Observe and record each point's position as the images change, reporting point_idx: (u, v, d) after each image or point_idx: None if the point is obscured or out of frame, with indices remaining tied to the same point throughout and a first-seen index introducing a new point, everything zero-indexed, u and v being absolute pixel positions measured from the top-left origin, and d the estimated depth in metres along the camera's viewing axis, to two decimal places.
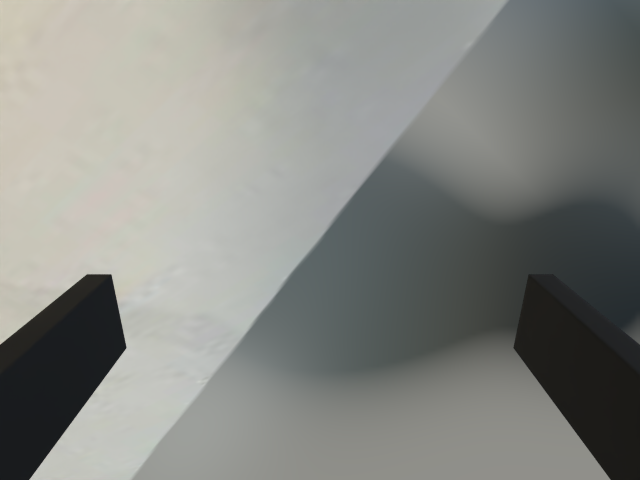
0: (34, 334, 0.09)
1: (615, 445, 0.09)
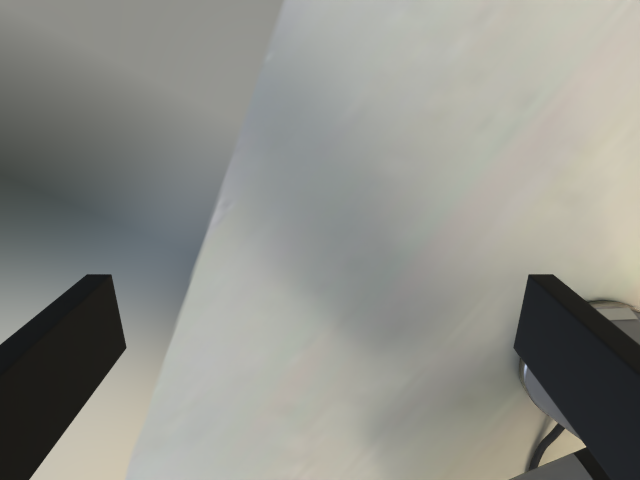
0: (34, 334, 0.09)
1: (615, 445, 0.09)
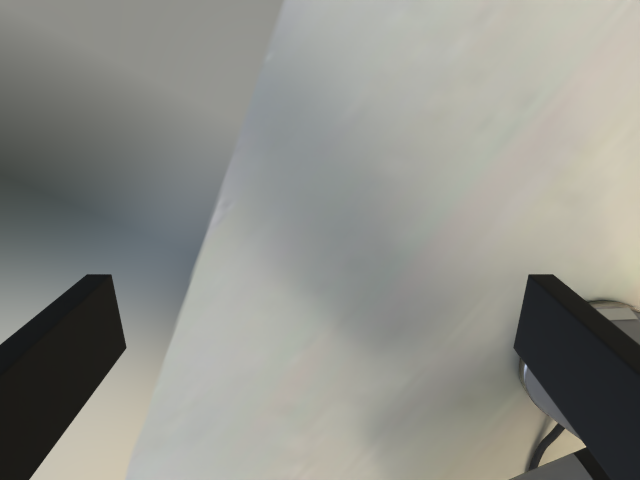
0: (34, 334, 0.09)
1: (615, 445, 0.09)
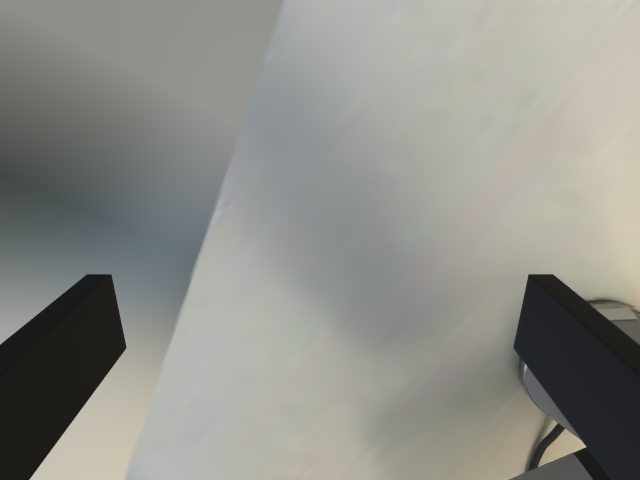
0: (34, 334, 0.09)
1: (615, 445, 0.09)
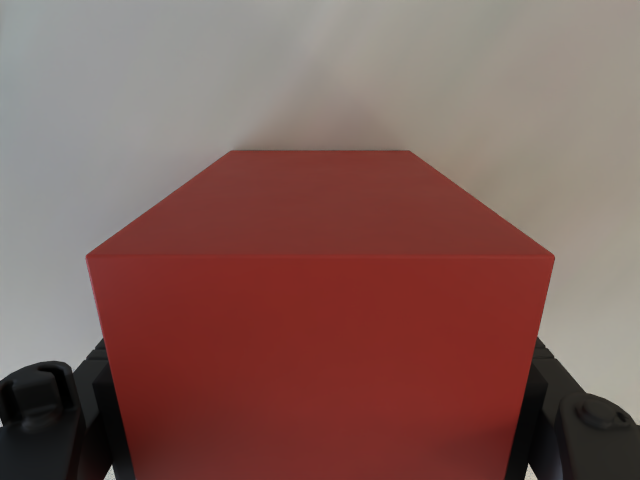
0: None
1: None
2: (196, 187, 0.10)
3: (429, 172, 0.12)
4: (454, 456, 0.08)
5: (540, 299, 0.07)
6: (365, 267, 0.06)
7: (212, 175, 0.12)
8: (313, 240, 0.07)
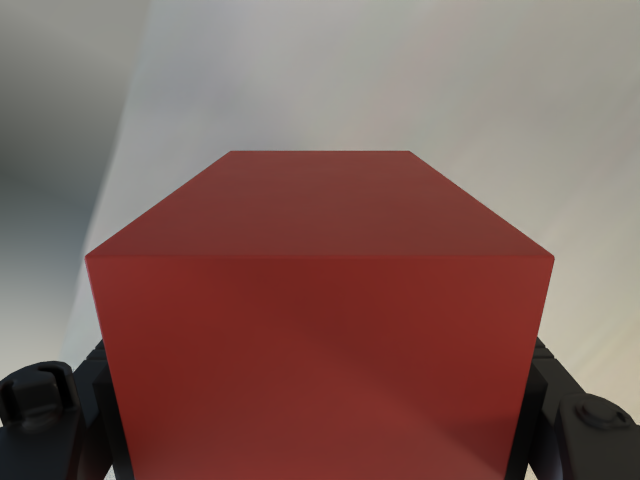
0: None
1: None
2: (195, 187, 0.10)
3: (429, 172, 0.12)
4: (453, 457, 0.08)
5: (540, 300, 0.07)
6: (364, 267, 0.06)
7: (212, 175, 0.12)
8: (313, 241, 0.07)
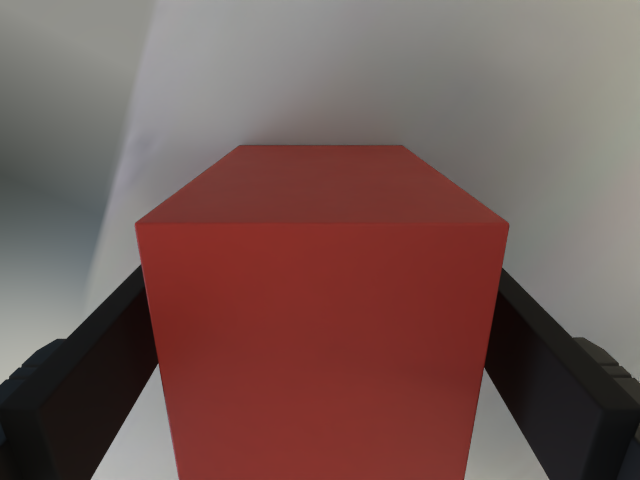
0: (112, 312, 0.10)
1: (531, 412, 0.10)
2: (213, 175, 0.12)
3: (417, 163, 0.14)
4: (433, 395, 0.09)
5: (499, 259, 0.08)
6: (358, 232, 0.08)
7: (226, 165, 0.14)
8: (316, 213, 0.09)
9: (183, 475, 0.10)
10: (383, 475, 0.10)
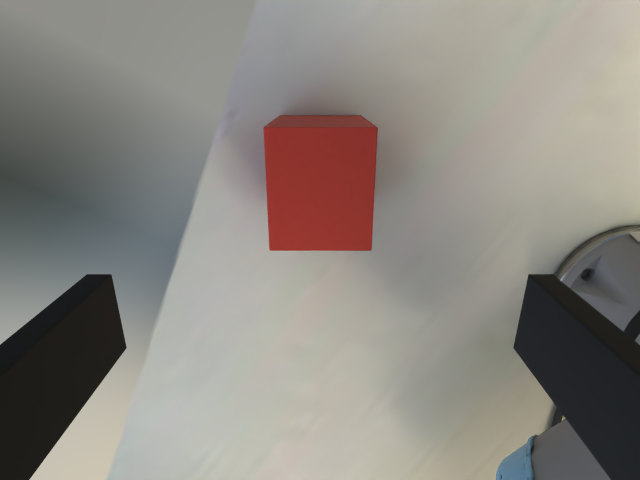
0: (34, 334, 0.09)
1: (615, 445, 0.09)
2: (277, 121, 0.30)
3: (362, 119, 0.32)
4: (358, 190, 0.28)
5: (375, 139, 0.27)
6: (331, 130, 0.26)
7: (280, 119, 0.32)
8: (318, 126, 0.27)
9: (270, 226, 0.29)
10: (343, 226, 0.29)
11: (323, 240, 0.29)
